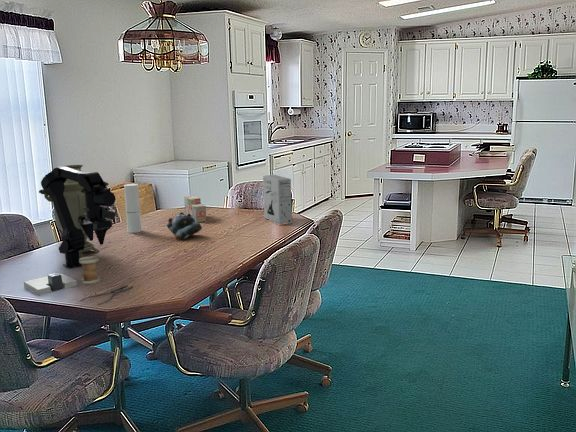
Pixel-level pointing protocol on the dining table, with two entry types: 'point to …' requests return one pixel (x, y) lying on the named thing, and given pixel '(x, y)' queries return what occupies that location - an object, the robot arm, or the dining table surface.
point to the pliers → (110, 293)
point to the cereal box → (277, 199)
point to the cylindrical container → (132, 208)
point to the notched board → (47, 284)
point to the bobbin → (89, 270)
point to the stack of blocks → (195, 208)
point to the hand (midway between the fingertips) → (96, 242)
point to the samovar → (74, 205)
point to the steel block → (55, 281)
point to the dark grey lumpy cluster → (183, 226)
